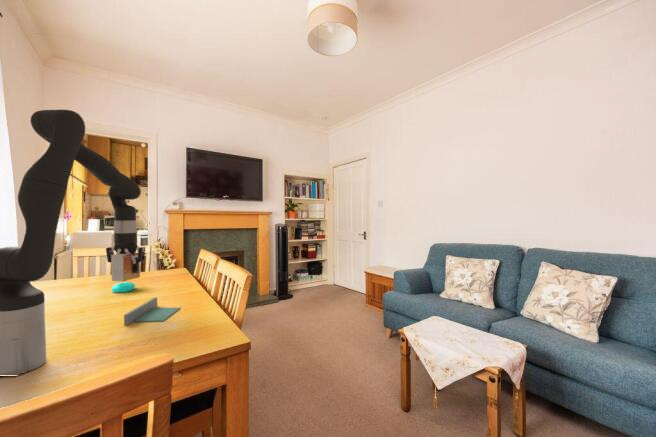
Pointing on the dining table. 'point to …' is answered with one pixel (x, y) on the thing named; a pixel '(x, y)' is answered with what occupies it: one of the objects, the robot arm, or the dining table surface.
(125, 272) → the small box
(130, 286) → the donuts
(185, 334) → the dining table surface
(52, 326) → the dining table surface
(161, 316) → the mat
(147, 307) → the divider wall
